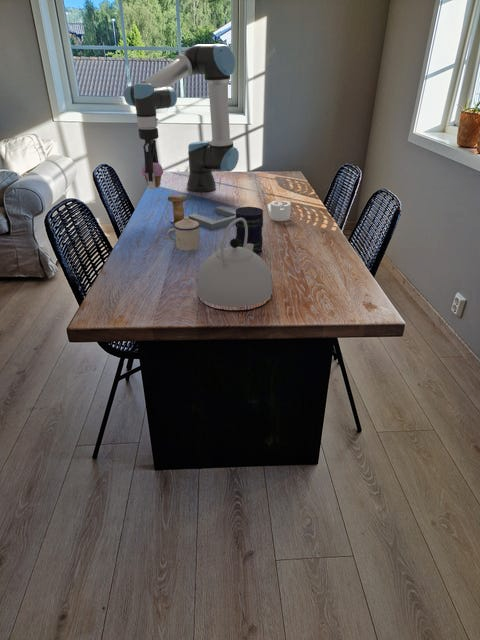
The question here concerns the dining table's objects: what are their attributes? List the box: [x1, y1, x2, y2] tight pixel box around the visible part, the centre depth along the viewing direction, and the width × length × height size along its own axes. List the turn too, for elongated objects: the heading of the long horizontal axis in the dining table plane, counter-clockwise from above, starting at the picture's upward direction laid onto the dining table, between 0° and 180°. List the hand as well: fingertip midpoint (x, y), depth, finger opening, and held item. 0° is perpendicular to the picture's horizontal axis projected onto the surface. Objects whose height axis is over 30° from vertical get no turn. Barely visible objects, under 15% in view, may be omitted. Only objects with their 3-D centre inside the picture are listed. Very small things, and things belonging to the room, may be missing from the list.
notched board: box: [187, 205, 236, 231], centre depth 192 cm, size 16×20×2 cm
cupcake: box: [141, 162, 164, 189], centre depth 183 cm, size 9×9×10 cm
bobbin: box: [167, 193, 188, 224], centre depth 187 cm, size 8×8×11 cm
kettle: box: [196, 218, 273, 307], centre depth 130 cm, size 25×23×22 cm
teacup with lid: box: [166, 215, 201, 251], centre depth 163 cm, size 12×9×12 cm
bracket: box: [266, 200, 292, 222], centre depth 199 cm, size 20×9×7 cm, turn 3°
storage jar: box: [234, 206, 264, 256], centre depth 159 cm, size 10×10×15 cm
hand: (154, 185), depth 186 cm, fingers closed on cupcake, 9 cm apart
